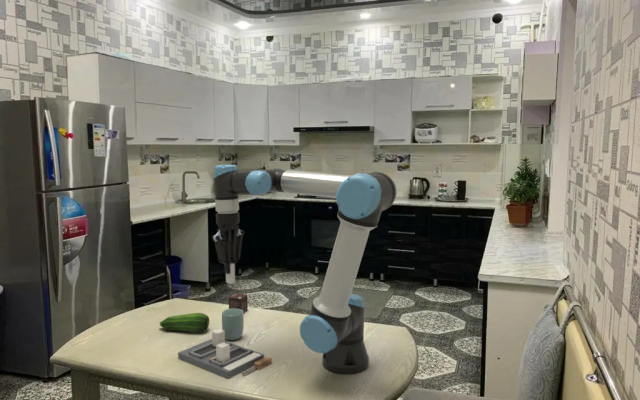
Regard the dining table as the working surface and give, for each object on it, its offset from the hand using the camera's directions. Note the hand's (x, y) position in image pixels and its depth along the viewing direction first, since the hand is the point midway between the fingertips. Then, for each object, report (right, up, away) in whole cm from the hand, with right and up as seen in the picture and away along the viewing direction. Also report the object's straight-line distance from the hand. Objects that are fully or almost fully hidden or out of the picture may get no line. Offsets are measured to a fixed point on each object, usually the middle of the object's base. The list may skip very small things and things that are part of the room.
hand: (230, 282), depth 161 cm
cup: (-2, -24, +18) cm, 30 cm away
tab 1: (-5, -23, +6) cm, 24 cm away
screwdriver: (+9, -27, -7) cm, 29 cm away
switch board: (-3, -26, 0) cm, 26 cm away
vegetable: (-23, -23, +25) cm, 41 cm away
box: (-5, -21, +46) cm, 51 cm away
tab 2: (-1, -24, -6) cm, 25 cm away
